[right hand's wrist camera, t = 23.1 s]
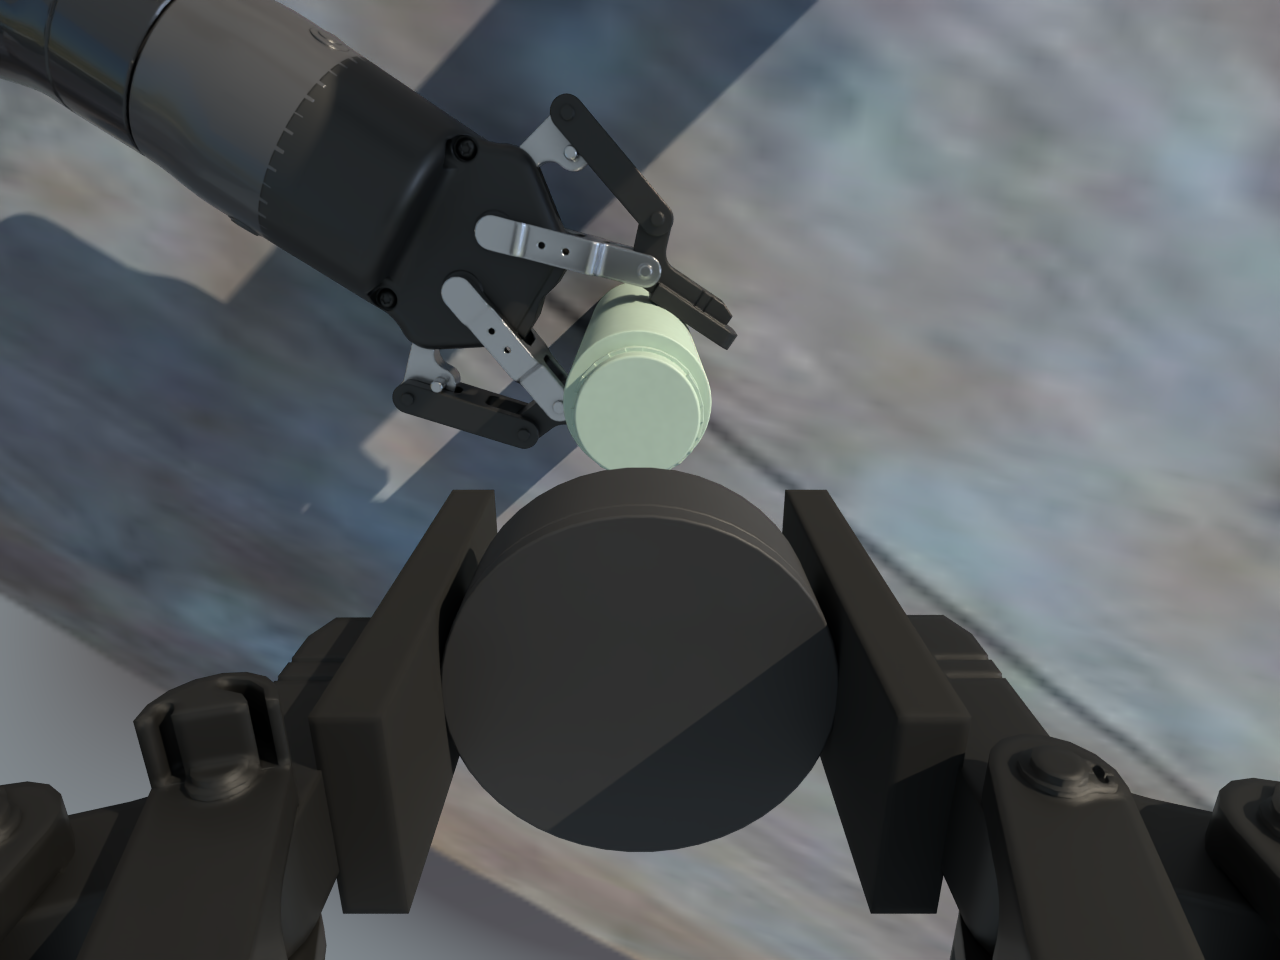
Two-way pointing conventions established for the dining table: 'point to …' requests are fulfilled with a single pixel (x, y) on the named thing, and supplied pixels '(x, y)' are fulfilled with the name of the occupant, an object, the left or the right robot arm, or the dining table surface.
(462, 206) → the left robot arm
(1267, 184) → the dining table surface
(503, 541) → the lid
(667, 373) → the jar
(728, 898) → the dining table surface
